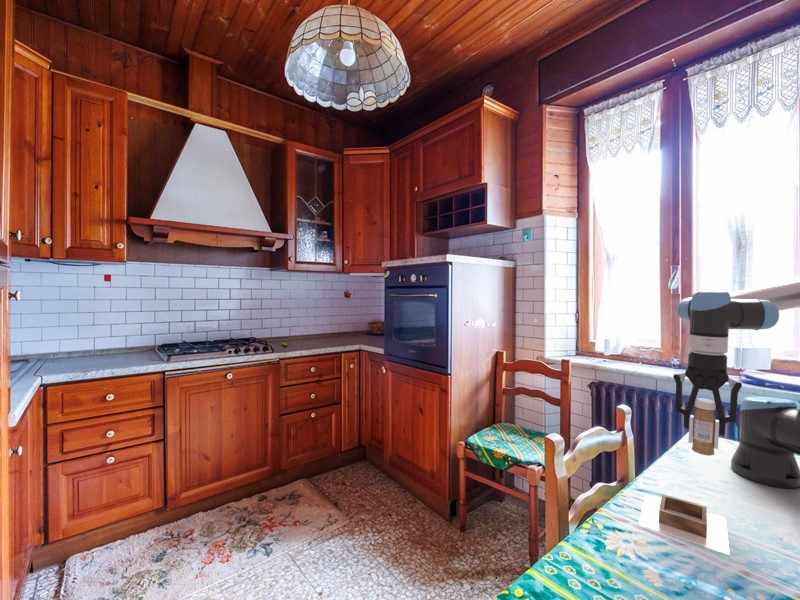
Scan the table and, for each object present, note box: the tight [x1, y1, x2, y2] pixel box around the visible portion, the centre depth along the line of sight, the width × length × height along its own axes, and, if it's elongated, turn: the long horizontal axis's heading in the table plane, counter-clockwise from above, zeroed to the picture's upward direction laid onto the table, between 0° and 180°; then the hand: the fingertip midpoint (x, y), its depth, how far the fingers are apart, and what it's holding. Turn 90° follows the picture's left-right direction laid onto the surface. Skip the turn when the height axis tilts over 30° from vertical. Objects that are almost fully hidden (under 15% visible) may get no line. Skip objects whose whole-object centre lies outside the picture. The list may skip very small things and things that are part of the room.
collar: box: [659, 493, 708, 538], centre depth 88 cm, size 9×9×3 cm
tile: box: [637, 494, 731, 556], centre depth 88 cm, size 16×16×1 cm
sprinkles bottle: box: [691, 397, 717, 456], centre depth 95 cm, size 5×5×14 cm
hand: (703, 443), depth 95 cm, fingers closed on sprinkles bottle, 4 cm apart
